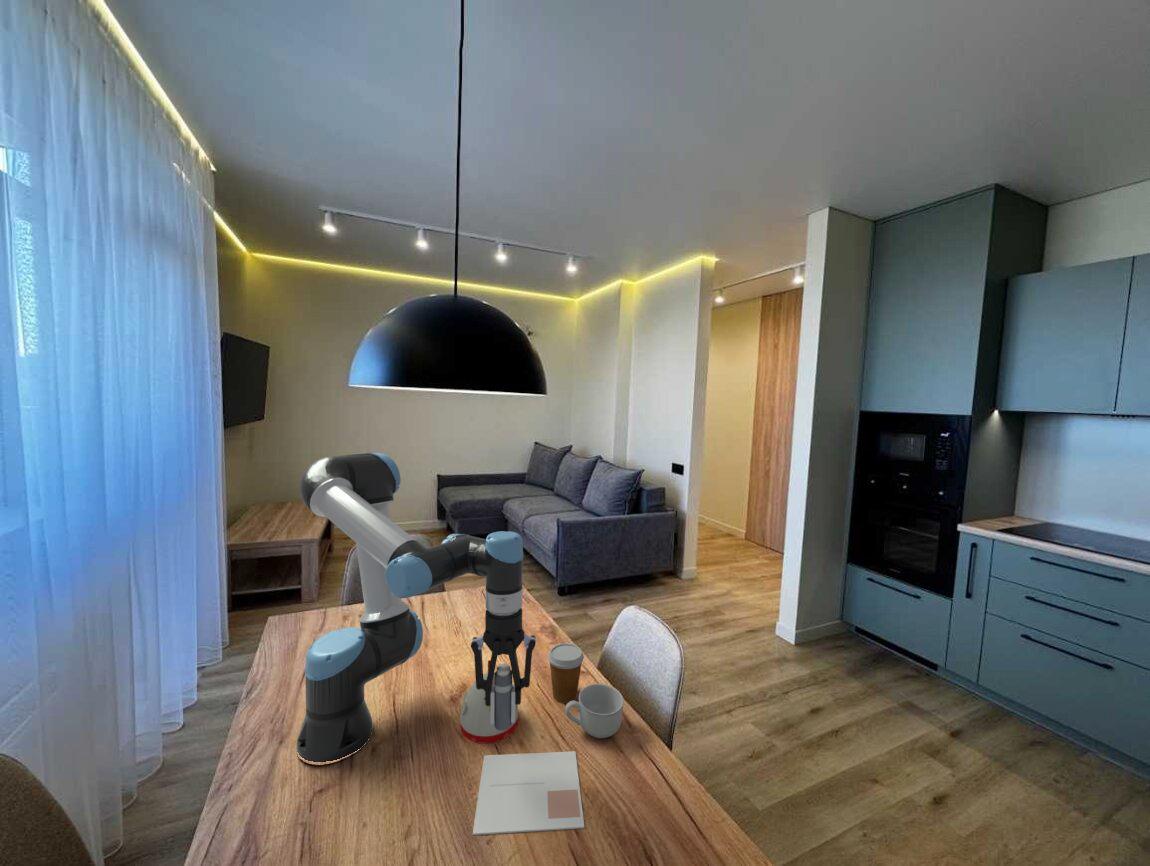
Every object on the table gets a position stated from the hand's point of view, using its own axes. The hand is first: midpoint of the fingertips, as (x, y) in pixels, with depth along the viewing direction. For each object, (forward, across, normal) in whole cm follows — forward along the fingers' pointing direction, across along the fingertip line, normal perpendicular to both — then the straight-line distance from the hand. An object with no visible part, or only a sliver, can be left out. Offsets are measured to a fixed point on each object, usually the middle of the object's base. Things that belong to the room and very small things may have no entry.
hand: (503, 718), depth 93 cm
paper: (+11, +6, -5) cm, 14 cm away
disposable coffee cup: (+12, +15, +24) cm, 31 cm away
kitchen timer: (+12, -4, +15) cm, 20 cm away
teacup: (+12, +21, +11) cm, 26 cm away
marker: (+1, 0, 0) cm, 1 cm away
